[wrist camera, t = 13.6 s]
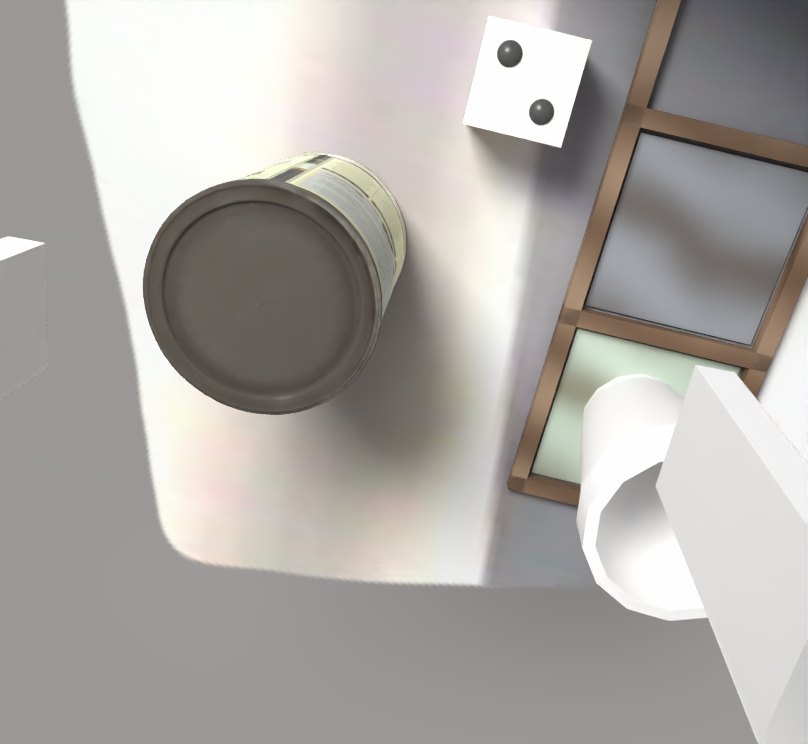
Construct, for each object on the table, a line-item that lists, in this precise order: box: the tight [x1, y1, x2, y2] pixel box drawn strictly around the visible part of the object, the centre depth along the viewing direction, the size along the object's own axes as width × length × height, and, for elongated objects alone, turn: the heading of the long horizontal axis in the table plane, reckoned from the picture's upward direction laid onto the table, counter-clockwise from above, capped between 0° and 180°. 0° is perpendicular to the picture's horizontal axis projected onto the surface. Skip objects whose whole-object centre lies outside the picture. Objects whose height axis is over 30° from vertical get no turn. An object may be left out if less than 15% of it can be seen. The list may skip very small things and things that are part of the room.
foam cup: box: [576, 374, 708, 621], centre depth 42 cm, size 10×9×13 cm
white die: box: [463, 15, 592, 148], centre depth 39 cm, size 5×5×5 cm
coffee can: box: [143, 152, 406, 415], centre depth 39 cm, size 10×10×14 cm
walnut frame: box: [507, 0, 808, 506], centre depth 43 cm, size 36×12×1 cm, turn 167°
